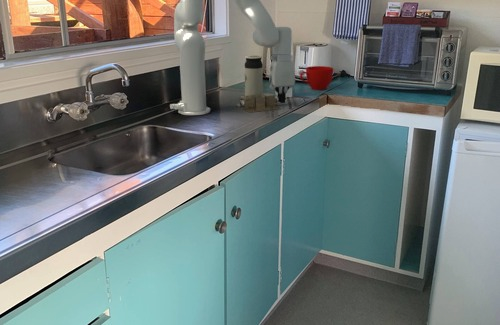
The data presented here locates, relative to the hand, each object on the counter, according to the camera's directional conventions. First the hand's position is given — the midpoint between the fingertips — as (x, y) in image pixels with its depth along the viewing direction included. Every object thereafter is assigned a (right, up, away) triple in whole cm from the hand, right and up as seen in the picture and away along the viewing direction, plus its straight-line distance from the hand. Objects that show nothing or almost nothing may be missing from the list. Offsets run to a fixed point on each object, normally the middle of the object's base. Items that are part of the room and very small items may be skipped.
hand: (281, 102), depth 211 cm
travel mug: (-12, +4, +17) cm, 21 cm away
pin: (-10, -3, -4) cm, 11 cm away
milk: (+2, +4, +16) cm, 17 cm away
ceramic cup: (+18, +10, +32) cm, 38 cm away
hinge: (-10, -3, -4) cm, 11 cm away
